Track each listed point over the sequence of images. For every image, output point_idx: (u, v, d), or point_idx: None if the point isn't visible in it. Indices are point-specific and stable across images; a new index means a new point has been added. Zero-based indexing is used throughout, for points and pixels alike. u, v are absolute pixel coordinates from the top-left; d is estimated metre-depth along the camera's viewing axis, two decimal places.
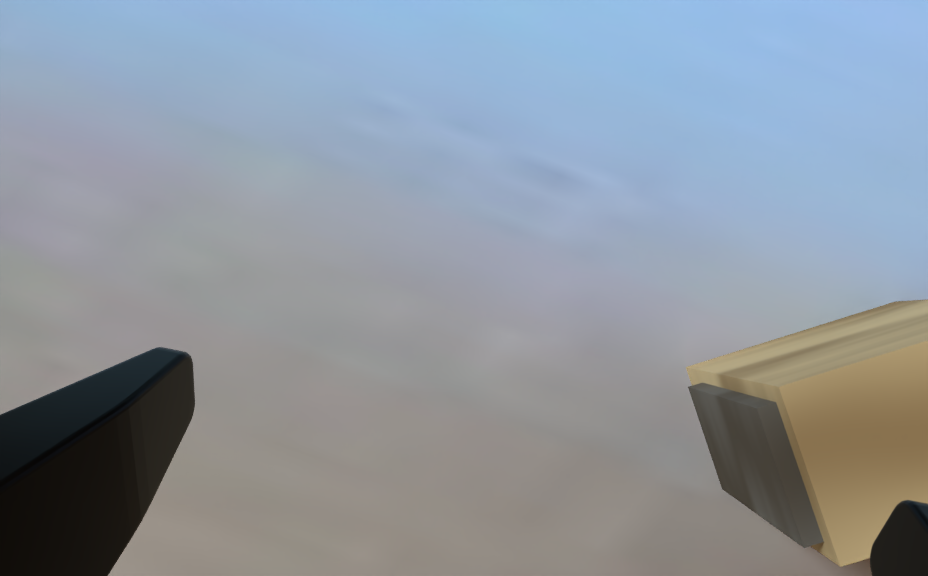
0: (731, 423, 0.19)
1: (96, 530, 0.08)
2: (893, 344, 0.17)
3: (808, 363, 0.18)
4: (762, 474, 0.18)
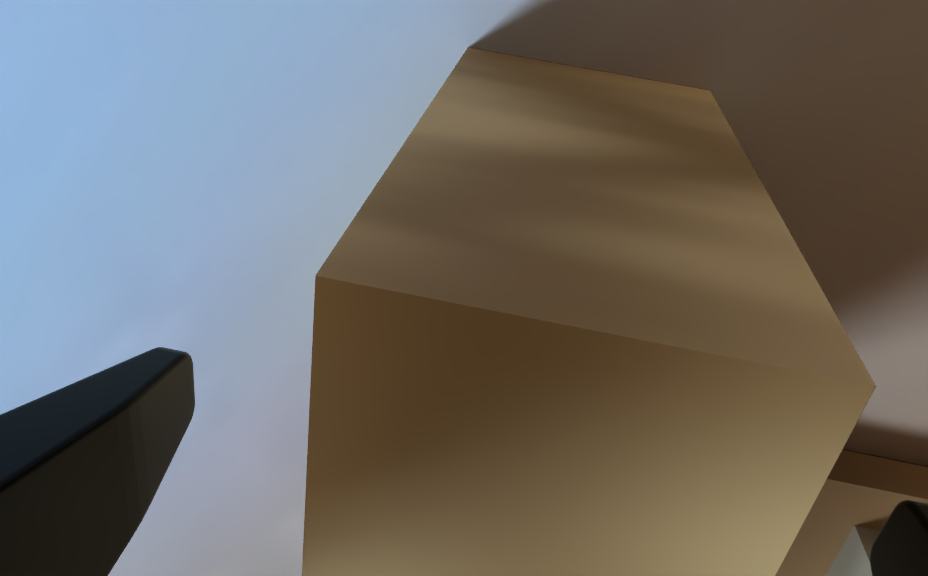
0: None
1: (96, 530, 0.08)
2: None
3: None
4: None
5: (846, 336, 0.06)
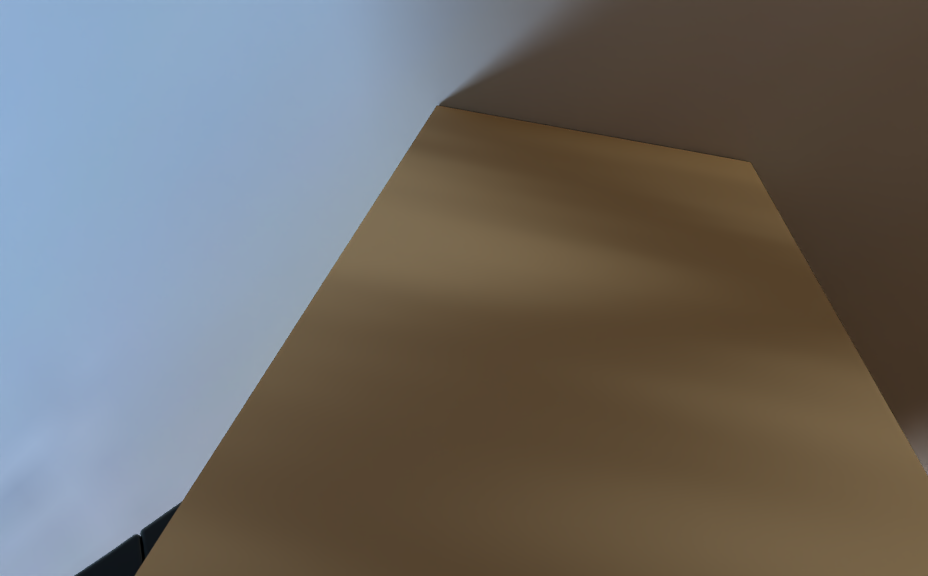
0: None
1: None
2: None
3: None
4: None
5: None
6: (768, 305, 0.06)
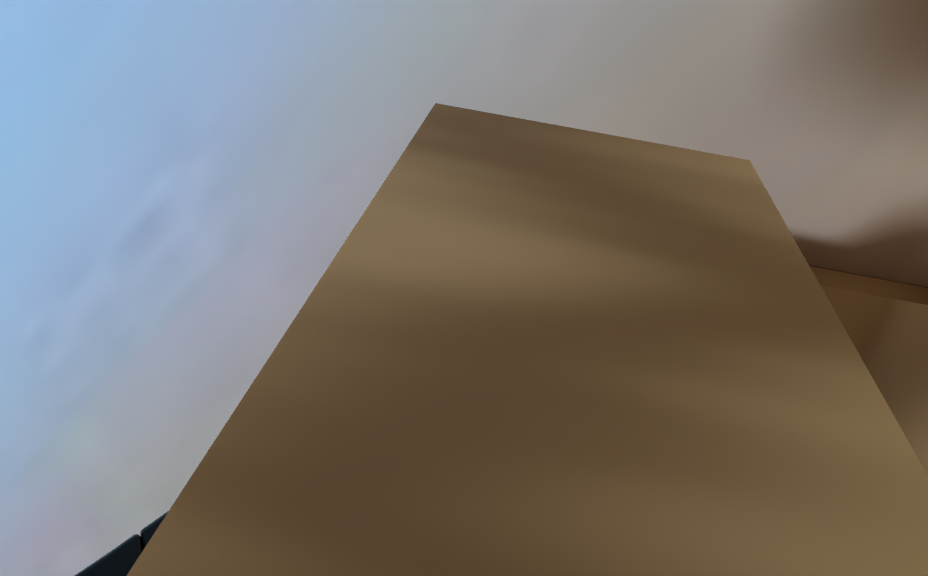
0: None
1: None
2: None
3: None
4: None
5: None
6: (767, 302, 0.06)
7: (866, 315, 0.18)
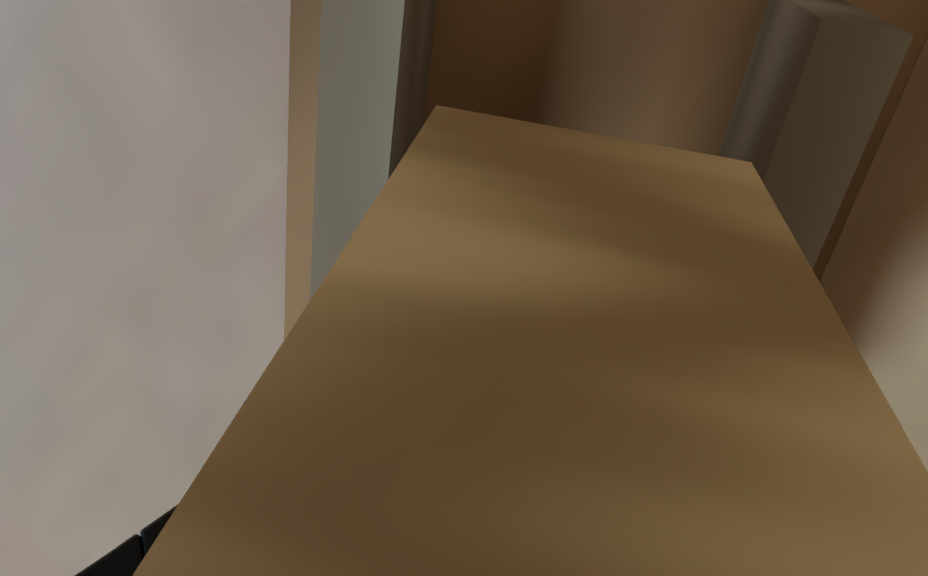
0: None
1: None
2: None
3: None
4: None
5: None
6: (769, 306, 0.06)
7: None
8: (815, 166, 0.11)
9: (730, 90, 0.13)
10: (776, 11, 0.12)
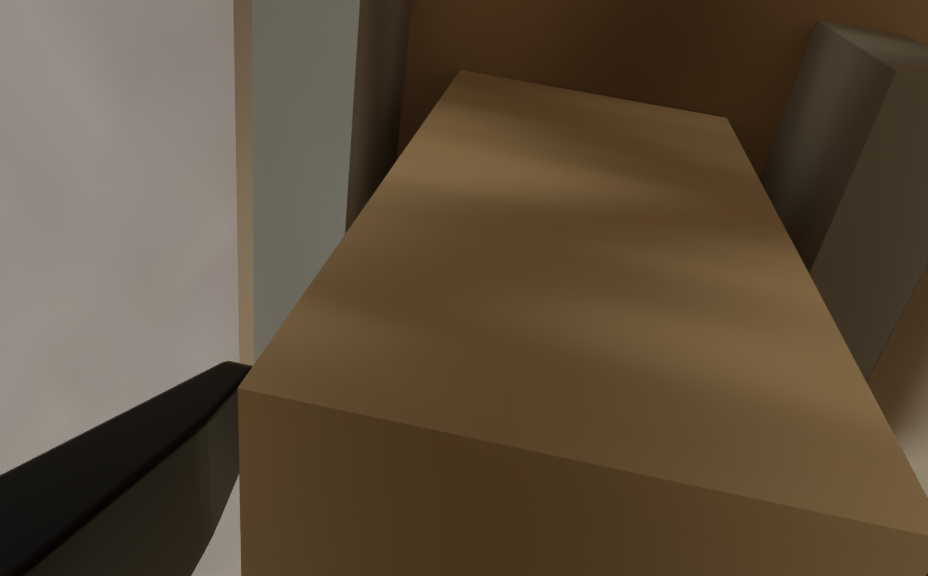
0: None
1: (175, 547, 0.08)
2: None
3: None
4: None
5: (904, 458, 0.05)
6: (726, 211, 0.08)
7: None
8: (879, 251, 0.09)
9: (762, 140, 0.11)
10: (824, 50, 0.10)
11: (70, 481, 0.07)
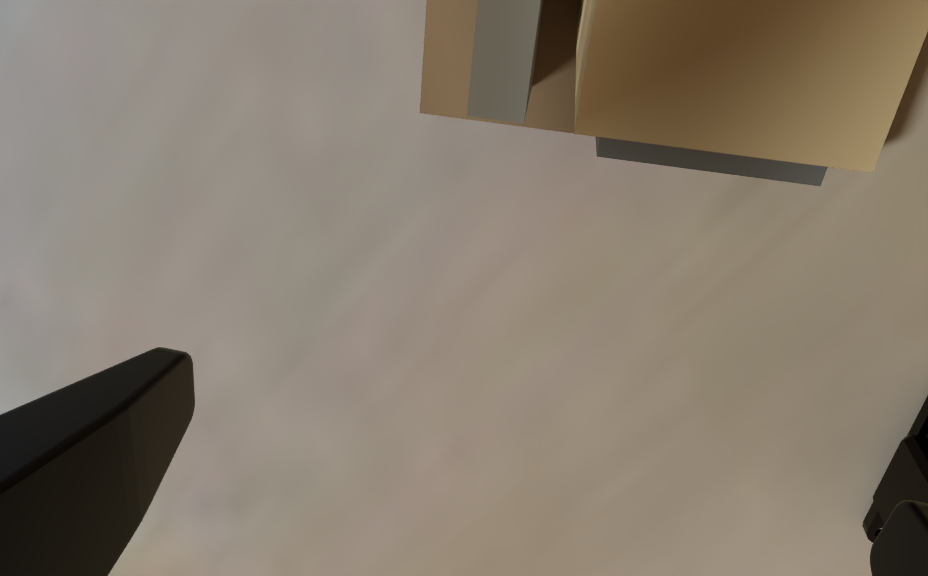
0: None
1: (96, 530, 0.08)
2: None
3: (590, 8, 0.11)
4: None
5: None
6: None
7: None
8: None
9: None
10: None
11: None
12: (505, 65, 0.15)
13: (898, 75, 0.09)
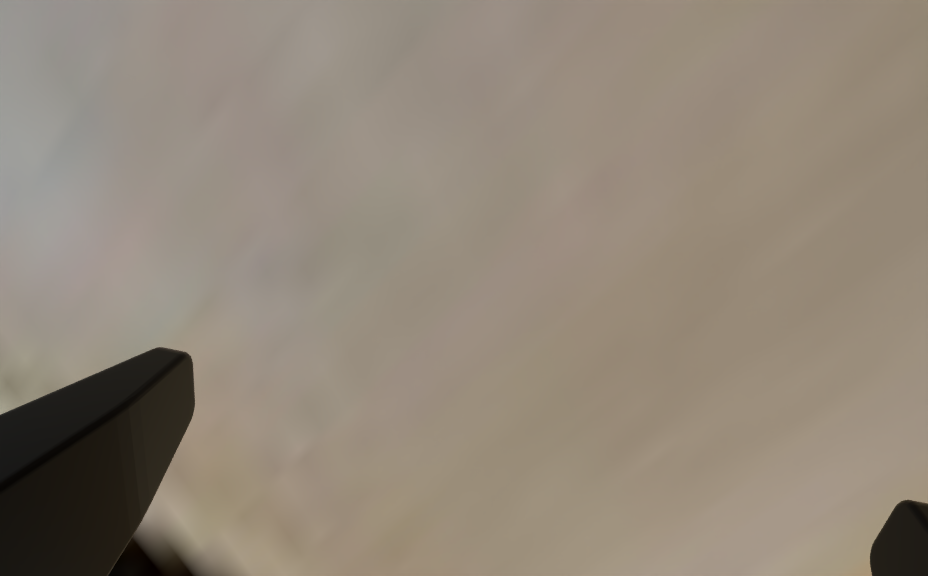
0: None
1: (96, 530, 0.08)
2: None
3: None
4: None
5: None
6: None
7: None
8: None
9: None
10: None
11: None
12: None
13: None
